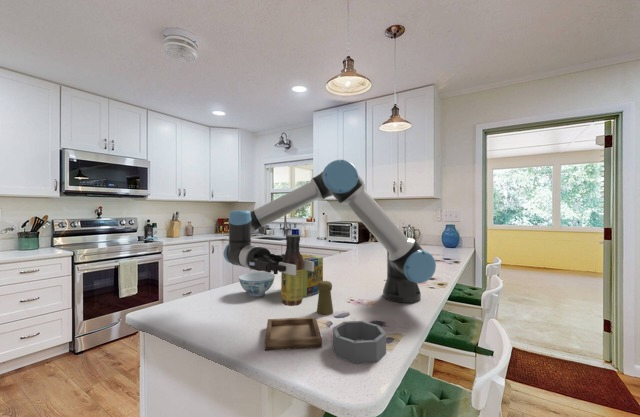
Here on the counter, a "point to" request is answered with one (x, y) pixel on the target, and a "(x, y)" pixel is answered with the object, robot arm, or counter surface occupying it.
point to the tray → (292, 334)
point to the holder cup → (359, 342)
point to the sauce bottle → (291, 283)
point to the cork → (324, 298)
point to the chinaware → (256, 282)
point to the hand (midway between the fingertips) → (304, 268)
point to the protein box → (312, 275)
